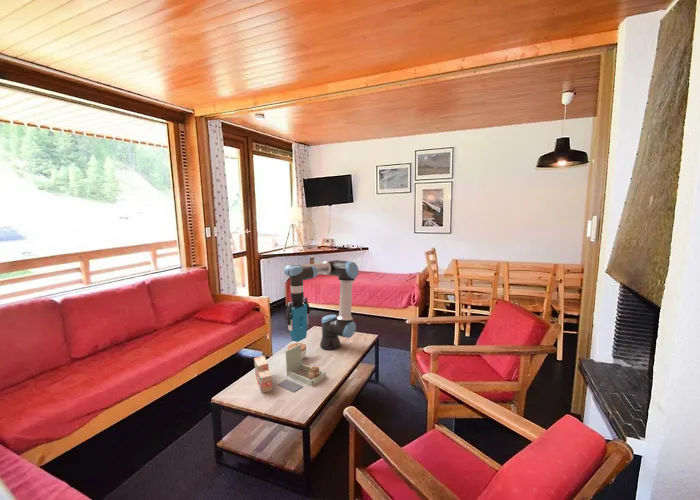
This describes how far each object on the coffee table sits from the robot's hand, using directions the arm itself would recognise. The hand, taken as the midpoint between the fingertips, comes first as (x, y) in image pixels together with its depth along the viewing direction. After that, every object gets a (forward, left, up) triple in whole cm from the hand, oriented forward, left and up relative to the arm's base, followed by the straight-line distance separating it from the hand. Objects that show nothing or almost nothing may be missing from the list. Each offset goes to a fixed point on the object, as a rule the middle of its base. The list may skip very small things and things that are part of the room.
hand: (298, 326), depth 193 cm
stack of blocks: (+18, -14, -32) cm, 39 cm away
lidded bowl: (-15, -19, -32) cm, 40 cm away
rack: (-2, +2, -32) cm, 32 cm away
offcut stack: (-2, +9, -32) cm, 33 cm away
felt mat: (+11, +2, -32) cm, 34 cm away
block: (0, 0, -8) cm, 8 cm away
